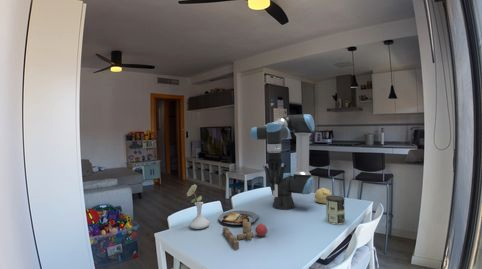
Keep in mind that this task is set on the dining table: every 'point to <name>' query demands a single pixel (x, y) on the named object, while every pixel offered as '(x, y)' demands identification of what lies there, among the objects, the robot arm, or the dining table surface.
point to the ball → (261, 229)
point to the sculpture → (322, 195)
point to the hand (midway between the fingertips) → (275, 196)
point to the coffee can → (335, 209)
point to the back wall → (231, 238)
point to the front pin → (244, 236)
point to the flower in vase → (199, 220)
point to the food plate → (237, 217)
